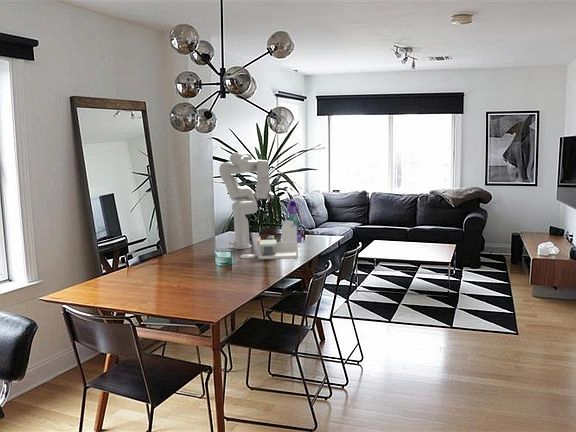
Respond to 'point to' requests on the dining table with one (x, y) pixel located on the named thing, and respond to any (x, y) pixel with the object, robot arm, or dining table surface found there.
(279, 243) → the frame with rectangular opening
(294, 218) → the lantern
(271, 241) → the cover
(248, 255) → the white flat disc
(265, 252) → the block
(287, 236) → the milk carton
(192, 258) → the dining table surface
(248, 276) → the dining table surface
